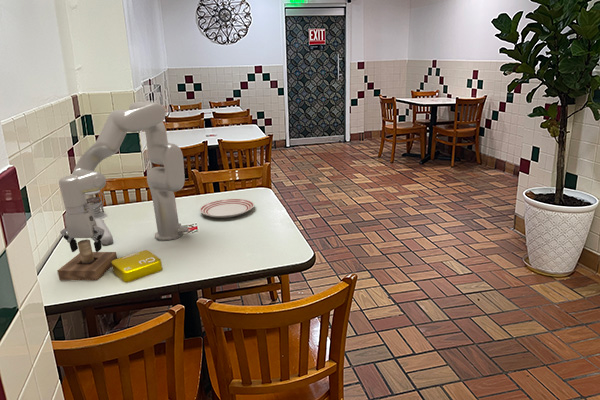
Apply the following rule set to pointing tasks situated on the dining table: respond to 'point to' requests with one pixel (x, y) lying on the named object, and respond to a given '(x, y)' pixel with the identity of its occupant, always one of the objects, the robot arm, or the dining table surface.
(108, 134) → the robot arm
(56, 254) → the dining table surface
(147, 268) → the element tile
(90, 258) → the peg
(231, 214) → the dinner plate
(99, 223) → the tube
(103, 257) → the board
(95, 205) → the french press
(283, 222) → the dining table surface
